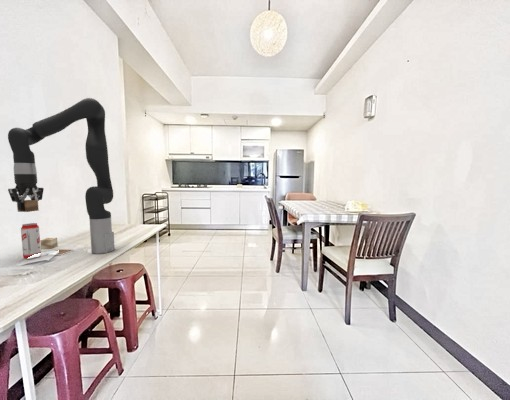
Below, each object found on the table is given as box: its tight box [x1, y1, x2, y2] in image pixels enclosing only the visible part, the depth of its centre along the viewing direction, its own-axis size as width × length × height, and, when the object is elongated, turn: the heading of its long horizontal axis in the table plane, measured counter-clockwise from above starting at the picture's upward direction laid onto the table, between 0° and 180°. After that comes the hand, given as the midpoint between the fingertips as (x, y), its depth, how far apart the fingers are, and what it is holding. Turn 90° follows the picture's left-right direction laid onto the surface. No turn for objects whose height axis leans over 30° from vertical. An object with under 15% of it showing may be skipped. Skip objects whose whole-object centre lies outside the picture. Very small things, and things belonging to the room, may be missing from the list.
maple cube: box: [40, 237, 59, 250], centre depth 128 cm, size 5×5×5 cm
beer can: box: [20, 222, 42, 260], centre depth 111 cm, size 6×6×16 cm
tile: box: [55, 248, 75, 256], centre depth 119 cm, size 8×8×1 cm
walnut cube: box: [16, 199, 40, 213], centre depth 110 cm, size 5×5×5 cm
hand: (28, 210), depth 110 cm, fingers closed on walnut cube, 5 cm apart
